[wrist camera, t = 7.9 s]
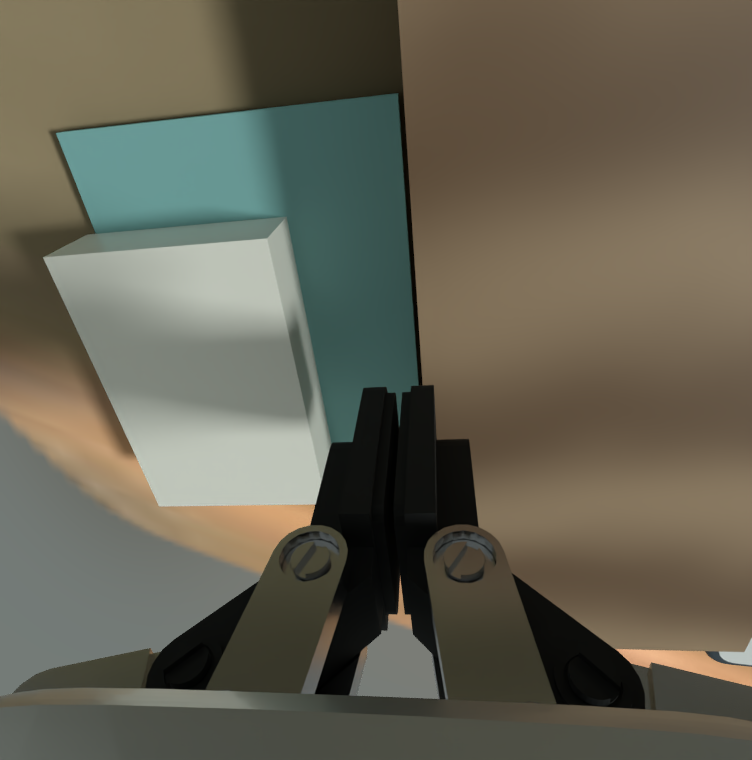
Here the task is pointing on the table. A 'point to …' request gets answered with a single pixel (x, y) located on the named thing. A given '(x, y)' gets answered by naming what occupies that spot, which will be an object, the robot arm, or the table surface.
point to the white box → (203, 357)
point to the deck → (594, 296)
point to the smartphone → (733, 656)
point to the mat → (284, 199)
